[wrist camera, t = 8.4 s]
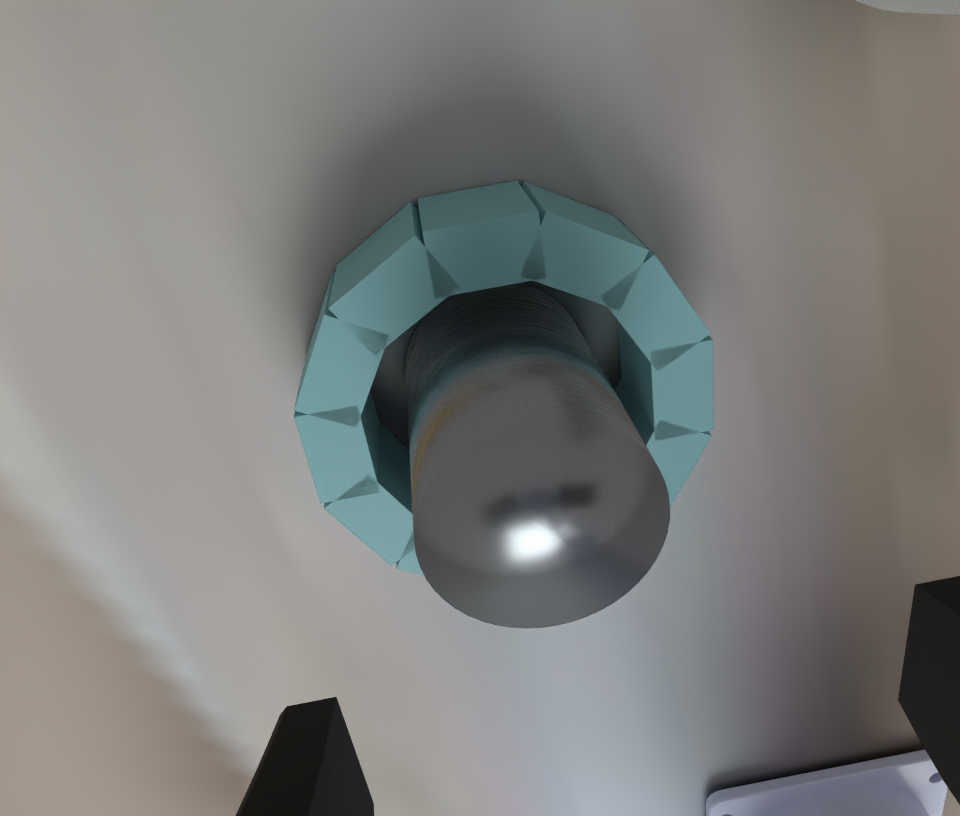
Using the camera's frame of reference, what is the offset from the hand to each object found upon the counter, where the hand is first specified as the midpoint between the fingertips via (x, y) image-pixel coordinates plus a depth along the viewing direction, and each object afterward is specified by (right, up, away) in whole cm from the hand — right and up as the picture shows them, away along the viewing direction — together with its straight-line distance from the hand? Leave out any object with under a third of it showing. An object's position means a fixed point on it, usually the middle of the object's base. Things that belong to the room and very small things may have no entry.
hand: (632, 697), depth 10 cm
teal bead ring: (-2, +4, +8) cm, 9 cm away
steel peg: (-2, +5, +8) cm, 9 cm away
